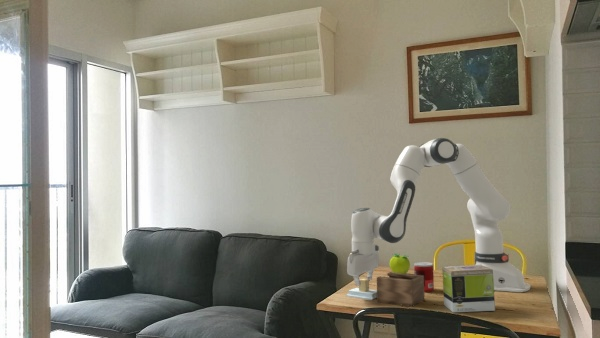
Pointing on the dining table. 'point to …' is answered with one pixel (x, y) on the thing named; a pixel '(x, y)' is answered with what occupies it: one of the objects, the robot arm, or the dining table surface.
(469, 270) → the tea box
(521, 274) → the robot arm
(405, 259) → the fruit
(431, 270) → the canned food
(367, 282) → the lid
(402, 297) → the box
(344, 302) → the dining table surface
